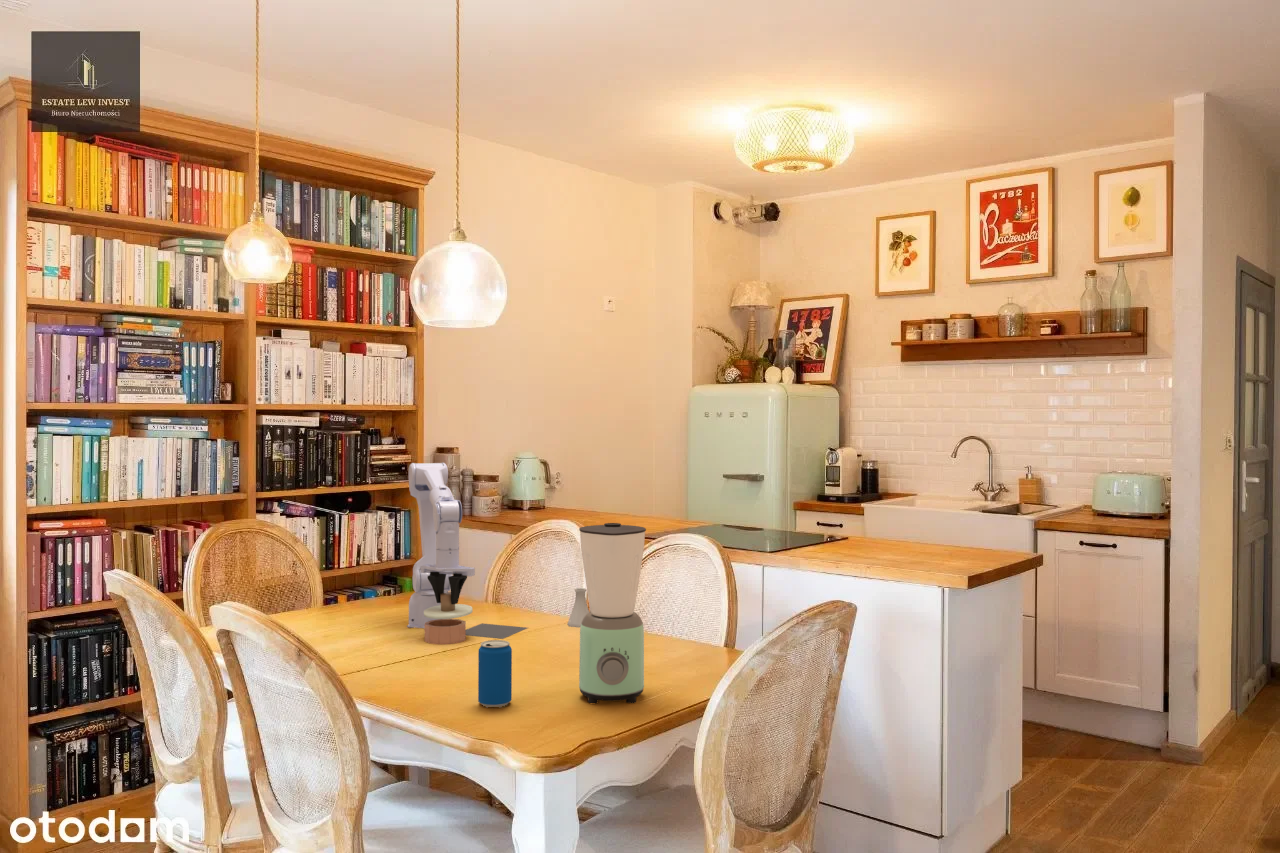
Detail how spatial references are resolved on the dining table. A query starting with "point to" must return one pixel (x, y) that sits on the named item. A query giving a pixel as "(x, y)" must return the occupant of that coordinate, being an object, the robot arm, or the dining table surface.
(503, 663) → the beverage can
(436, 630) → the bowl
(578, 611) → the flask
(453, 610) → the lid
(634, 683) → the green blender
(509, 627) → the mat
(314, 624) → the dining table surface
